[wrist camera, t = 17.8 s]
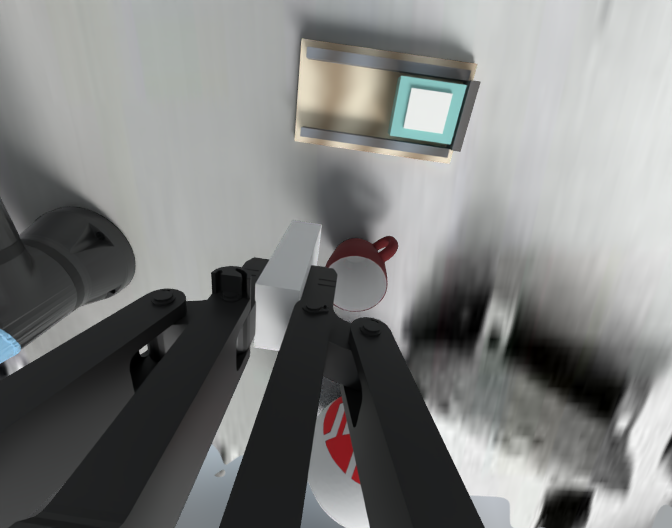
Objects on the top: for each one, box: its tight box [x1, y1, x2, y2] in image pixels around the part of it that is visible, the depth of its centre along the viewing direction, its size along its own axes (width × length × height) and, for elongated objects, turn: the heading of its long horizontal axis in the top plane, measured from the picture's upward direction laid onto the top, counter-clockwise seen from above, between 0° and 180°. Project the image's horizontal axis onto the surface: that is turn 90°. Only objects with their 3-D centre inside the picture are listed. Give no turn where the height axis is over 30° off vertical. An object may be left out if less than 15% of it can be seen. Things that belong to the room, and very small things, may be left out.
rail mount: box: [295, 39, 480, 164], centre depth 38 cm, size 20×11×4 cm, turn 83°
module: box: [388, 76, 467, 144], centre depth 38 cm, size 7×6×4 cm
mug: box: [325, 236, 398, 312], centre depth 44 cm, size 10×8×10 cm
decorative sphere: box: [308, 396, 370, 528], centre depth 55 cm, size 20×20×20 cm
